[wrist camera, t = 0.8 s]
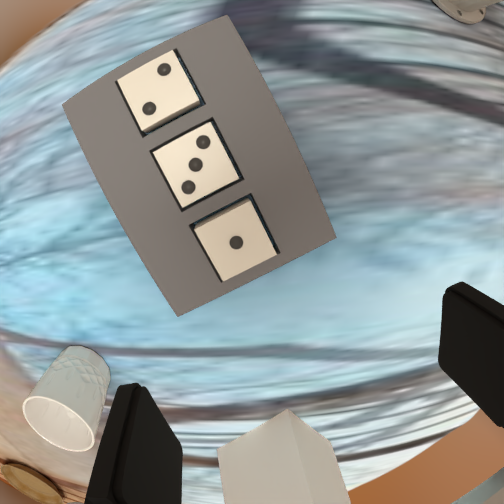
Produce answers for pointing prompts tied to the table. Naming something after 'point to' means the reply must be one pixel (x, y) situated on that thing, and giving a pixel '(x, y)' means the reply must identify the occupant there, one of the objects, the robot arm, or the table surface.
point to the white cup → (69, 399)
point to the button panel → (252, 182)
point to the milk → (281, 465)
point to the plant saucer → (31, 483)
